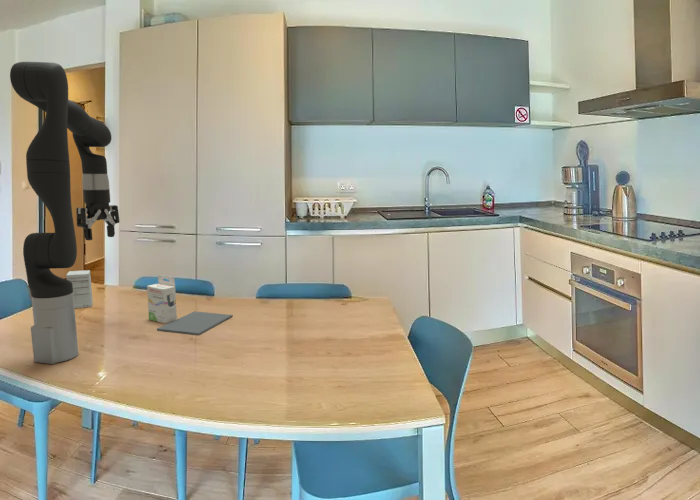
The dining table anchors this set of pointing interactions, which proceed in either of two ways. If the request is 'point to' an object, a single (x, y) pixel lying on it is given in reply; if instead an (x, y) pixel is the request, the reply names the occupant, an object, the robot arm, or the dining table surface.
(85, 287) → the supplement box
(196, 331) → the mat
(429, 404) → the dining table surface
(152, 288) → the ink box
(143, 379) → the dining table surface
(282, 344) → the dining table surface
